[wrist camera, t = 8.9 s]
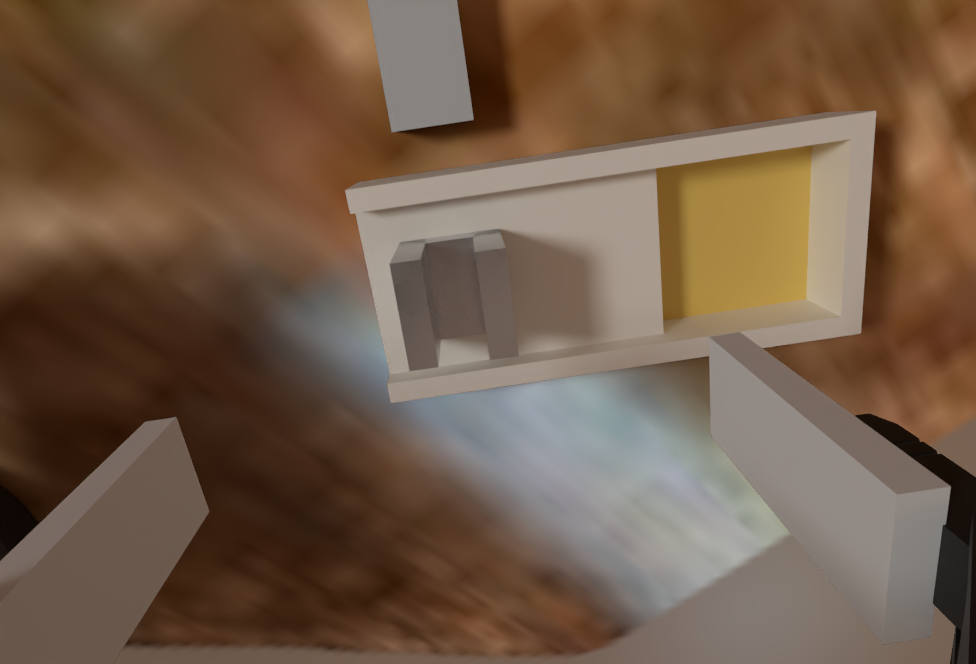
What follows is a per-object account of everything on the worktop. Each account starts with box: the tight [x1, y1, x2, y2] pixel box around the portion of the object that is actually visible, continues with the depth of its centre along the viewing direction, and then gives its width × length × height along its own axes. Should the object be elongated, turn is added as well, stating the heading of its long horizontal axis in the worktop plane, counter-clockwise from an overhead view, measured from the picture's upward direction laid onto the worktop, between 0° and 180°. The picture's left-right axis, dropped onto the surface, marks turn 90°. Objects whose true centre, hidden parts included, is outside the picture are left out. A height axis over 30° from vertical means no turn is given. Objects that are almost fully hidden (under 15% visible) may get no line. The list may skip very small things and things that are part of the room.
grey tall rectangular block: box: [367, 0, 474, 132], centre depth 26 cm, size 4×8×2 cm, turn 8°
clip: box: [390, 229, 519, 371], centre depth 26 cm, size 4×4×4 cm
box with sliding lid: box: [345, 111, 876, 403], centre depth 29 cm, size 22×10×4 cm, turn 98°
